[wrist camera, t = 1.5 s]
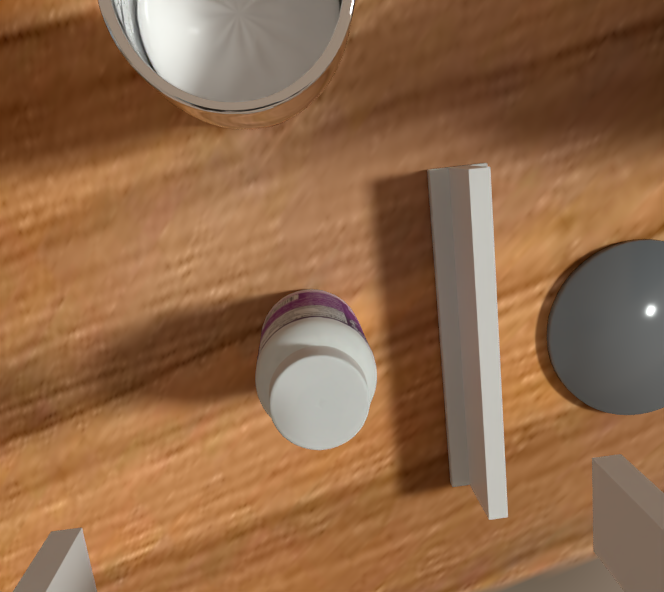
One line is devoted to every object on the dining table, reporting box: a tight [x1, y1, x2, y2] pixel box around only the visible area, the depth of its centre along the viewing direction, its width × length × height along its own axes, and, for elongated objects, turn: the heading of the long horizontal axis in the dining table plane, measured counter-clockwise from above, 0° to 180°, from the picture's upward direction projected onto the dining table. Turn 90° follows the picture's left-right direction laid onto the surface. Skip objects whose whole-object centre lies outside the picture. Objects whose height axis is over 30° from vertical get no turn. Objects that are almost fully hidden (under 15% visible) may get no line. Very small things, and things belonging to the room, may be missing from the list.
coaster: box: [547, 239, 664, 415], centre depth 34 cm, size 10×10×1 cm
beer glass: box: [98, 0, 355, 129], centre depth 23 cm, size 7×7×15 cm
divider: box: [427, 163, 508, 520], centre depth 32 cm, size 3×18×4 cm, turn 7°
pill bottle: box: [255, 289, 377, 450], centre depth 29 cm, size 5×5×10 cm
